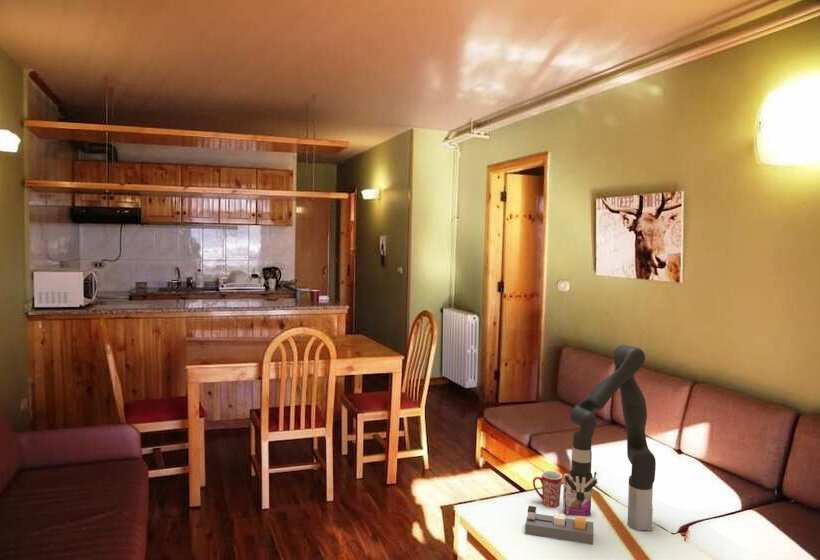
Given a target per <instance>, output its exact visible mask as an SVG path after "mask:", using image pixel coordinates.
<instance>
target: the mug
mask: <svg viewBox="0 0 820 560" xmlns="http://www.w3.org/2000/svg"><path fill="white" fill-rule="evenodd" d="M562 478H563V475H562V473H560V472H558V471H555V470H544V471H542V472H541V477H540V476H535V477H534V478H533V480H532V484H533V485H532V486H533V488H534V490H535V492H536V493H537V494H538V496H539V497H540V499H541V500H542V504H543V506H546V507H548V508H557V507H559V506H560V501H561V491H562V490H561V488H562ZM536 480H539V481H540V483H541V484H542V485H541V487H542V488H541V489H542V494H541V492H540V491H539V489H538V488H537V486H536Z"/></svg>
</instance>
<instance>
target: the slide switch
mask: <svg viewBox="0 0 820 560" xmlns="http://www.w3.org/2000/svg"><path fill="white" fill-rule="evenodd" d="M536 514H537V506H532V505H528V507H527V516H528V519H531V520H535V518H536Z"/></svg>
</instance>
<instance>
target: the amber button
mask: <svg viewBox="0 0 820 560" xmlns="http://www.w3.org/2000/svg"><path fill="white" fill-rule="evenodd" d="M574 519H575V523H574V528H576V529H582V530H585V529H586V521H587V517H585V516H579V515H574Z"/></svg>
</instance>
